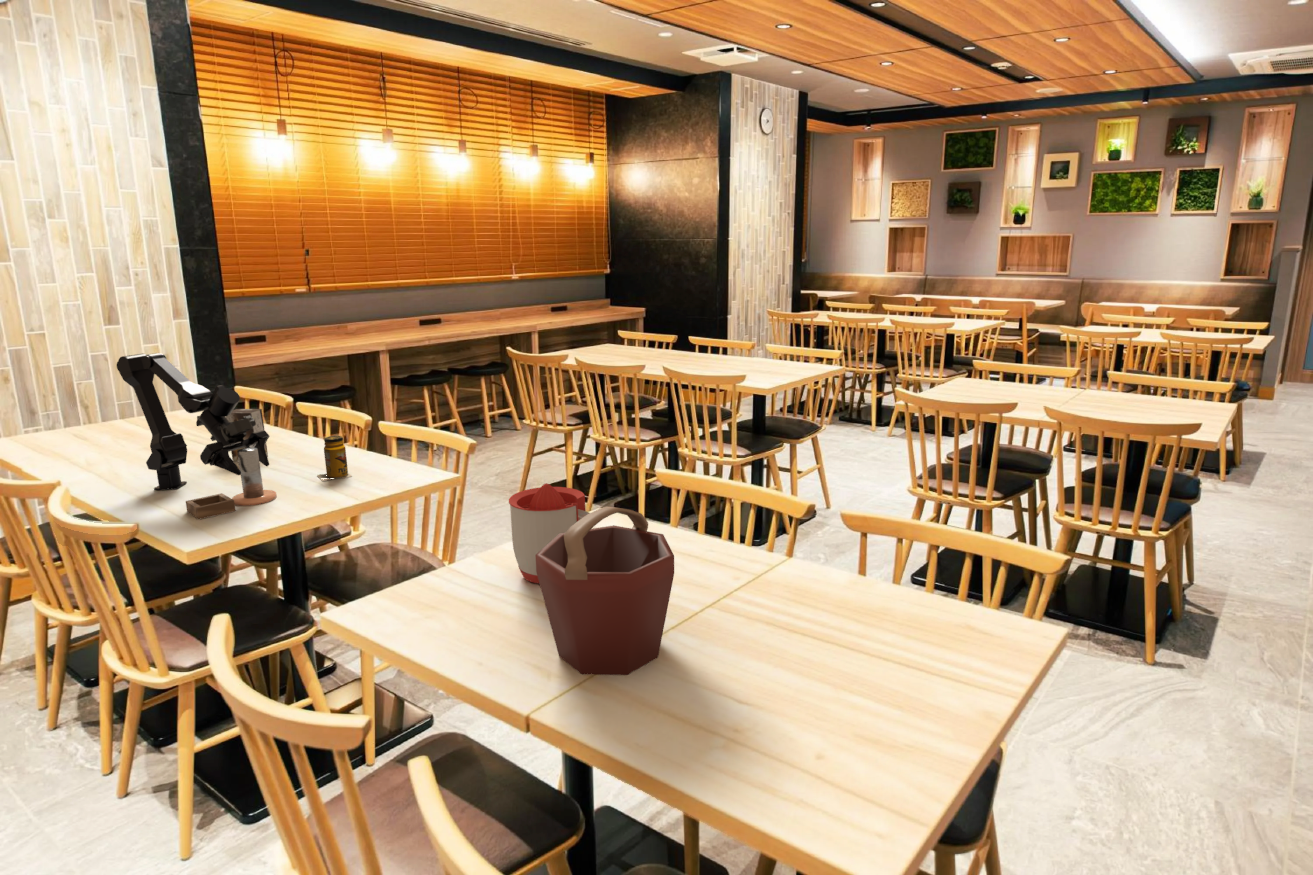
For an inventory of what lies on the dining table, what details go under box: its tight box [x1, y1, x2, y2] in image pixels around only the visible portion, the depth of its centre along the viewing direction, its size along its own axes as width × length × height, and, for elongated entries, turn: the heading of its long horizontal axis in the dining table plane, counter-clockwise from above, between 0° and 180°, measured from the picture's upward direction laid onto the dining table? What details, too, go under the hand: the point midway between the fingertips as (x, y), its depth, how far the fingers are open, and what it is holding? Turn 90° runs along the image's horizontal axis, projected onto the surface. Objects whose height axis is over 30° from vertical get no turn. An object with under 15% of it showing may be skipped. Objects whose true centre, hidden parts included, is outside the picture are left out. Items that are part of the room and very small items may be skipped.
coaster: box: [231, 489, 277, 507], centre depth 228 cm, size 11×11×1 cm
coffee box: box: [225, 408, 269, 462], centre depth 269 cm, size 9×6×16 cm
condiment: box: [317, 435, 352, 482], centre depth 248 cm, size 7×8×12 cm
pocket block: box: [185, 493, 237, 520], centre depth 218 cm, size 9×9×3 cm
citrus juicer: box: [508, 482, 590, 585], centre depth 171 cm, size 16×17×20 cm
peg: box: [237, 448, 264, 499], centre depth 226 cm, size 5×5×13 cm
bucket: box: [535, 505, 675, 676], centre depth 139 cm, size 24×22×25 cm
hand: (254, 469), depth 225 cm, fingers open, 9 cm apart
